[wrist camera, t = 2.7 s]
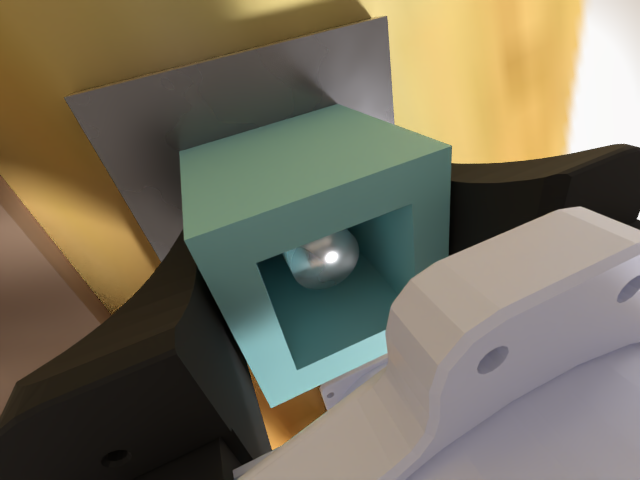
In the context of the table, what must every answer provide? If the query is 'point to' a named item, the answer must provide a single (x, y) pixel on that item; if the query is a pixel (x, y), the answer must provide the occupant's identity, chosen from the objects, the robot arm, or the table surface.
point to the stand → (234, 123)
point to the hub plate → (37, 296)
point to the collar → (313, 236)
